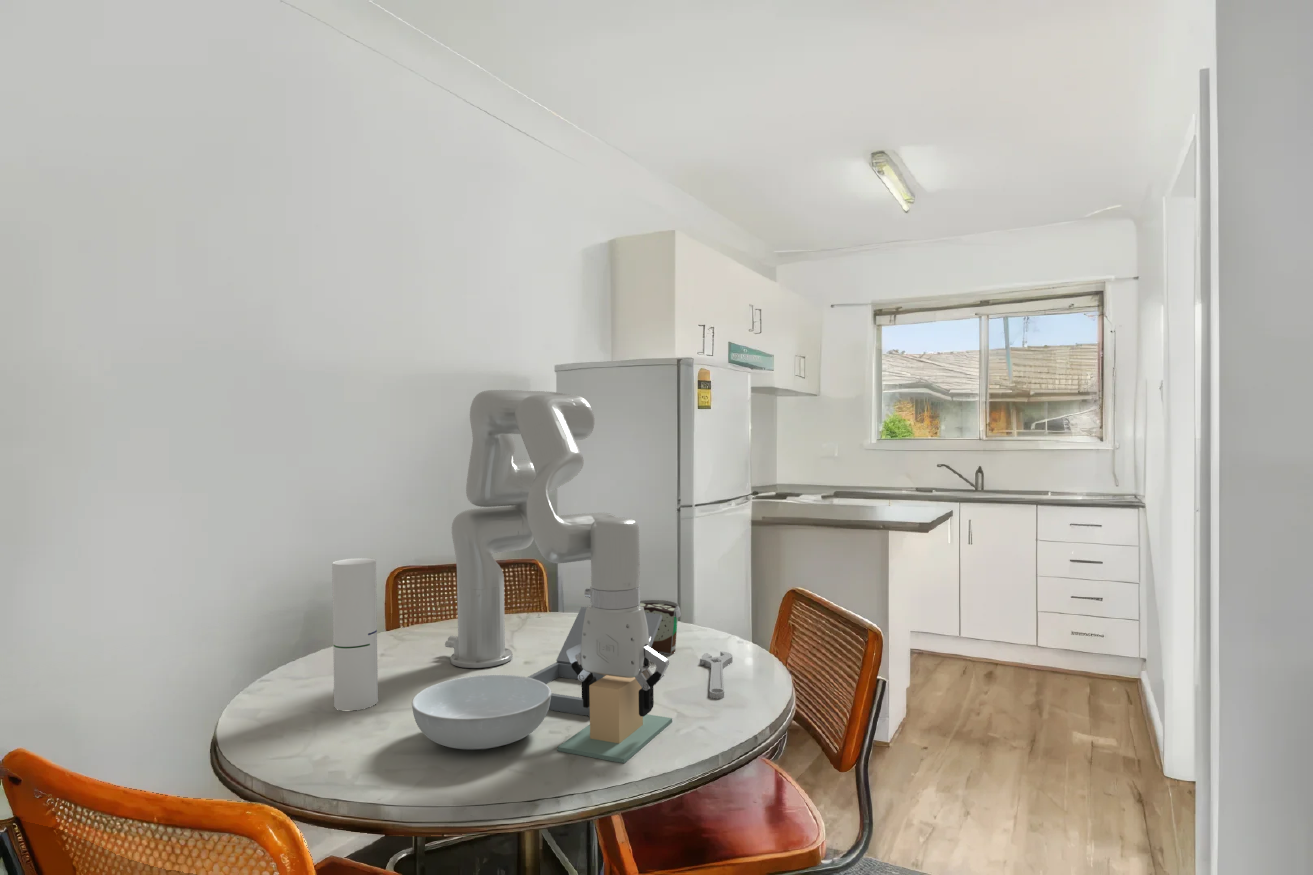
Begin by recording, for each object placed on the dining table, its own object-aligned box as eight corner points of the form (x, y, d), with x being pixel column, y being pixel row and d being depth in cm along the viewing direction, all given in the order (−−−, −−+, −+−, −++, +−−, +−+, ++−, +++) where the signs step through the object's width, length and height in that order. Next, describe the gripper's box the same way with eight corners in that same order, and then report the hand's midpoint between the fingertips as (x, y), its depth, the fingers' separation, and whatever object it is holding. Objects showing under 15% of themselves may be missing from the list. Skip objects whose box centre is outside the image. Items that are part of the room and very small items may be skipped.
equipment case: (505, 702, 133) (504, 638, 133) (583, 660, 158) (583, 606, 158) (595, 717, 126) (594, 648, 126) (663, 670, 151) (662, 613, 151)
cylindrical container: (386, 699, 136) (384, 558, 136) (358, 713, 129) (356, 565, 129) (353, 695, 138) (352, 557, 138) (324, 708, 132) (322, 563, 132)
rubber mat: (557, 750, 112) (557, 746, 112) (611, 712, 128) (611, 708, 128) (624, 763, 108) (624, 758, 108) (672, 721, 123) (672, 717, 123)
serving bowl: (562, 756, 111) (561, 708, 111) (410, 776, 105) (410, 726, 105) (541, 707, 131) (541, 667, 131) (413, 722, 125) (413, 680, 125)
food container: (692, 648, 166) (691, 602, 166) (677, 655, 161) (676, 608, 161) (644, 641, 172) (644, 597, 172) (629, 647, 167) (628, 602, 167)
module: (590, 738, 115) (589, 685, 115) (614, 720, 123) (614, 670, 123) (619, 743, 113) (618, 689, 113) (642, 724, 121) (642, 674, 121)
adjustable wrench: (724, 702, 134) (724, 692, 134) (688, 700, 135) (688, 690, 135) (733, 659, 158) (733, 651, 158) (702, 658, 159) (702, 650, 159)
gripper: (554, 598, 118) (556, 709, 118) (656, 607, 111) (658, 725, 111) (579, 589, 125) (580, 694, 125) (676, 597, 118) (678, 708, 118)
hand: (617, 709), depth 118 cm, fingers open, 9 cm apart
